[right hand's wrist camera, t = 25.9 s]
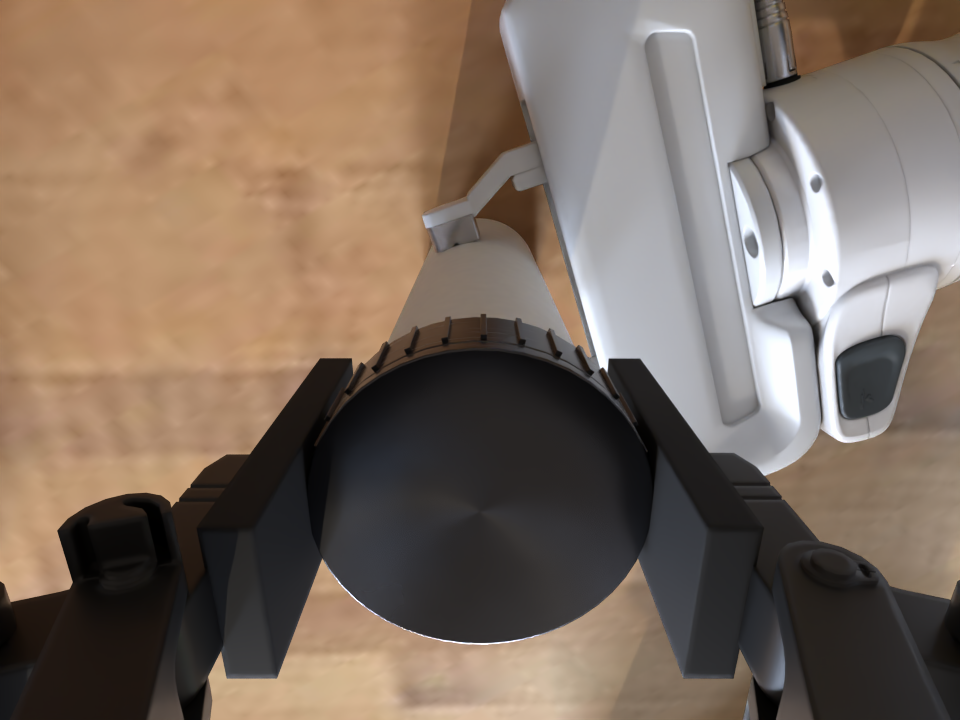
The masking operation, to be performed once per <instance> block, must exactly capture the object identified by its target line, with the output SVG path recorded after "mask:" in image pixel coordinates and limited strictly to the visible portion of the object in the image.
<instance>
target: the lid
mask: <svg viewBox="0 0 960 720" xmlns="http://www.w3.org/2000/svg"><path fill="white" fill-rule="evenodd" d="M324 420H326V423H325V425H324V427H323V429H322V431H321V432H320V434H319V436H318V438H317V440H316V442H315V443H314V445H313V449H312V450H314V453H313V455H312V459H311V463H310V467H309V472H308V476H307V500H308V508H309V517H310V524H311V531H312V536H313V538H314V541H315V543H316V546H317V548H318V551H319V553H320V555H321V557H322V558H323V560H324V562H325V564H326V565H327V567H328V569H329V570H330V572H331V573H332V574H333V575H334V577H335V578H336V579H337V581H338V582H339V583H340V585H341V586H342V587H343V588H344V589H345V590H346V591H347V592H348V593H349V594H350V595H351V596H352V597H353V598H354V599H356V600H357V601H358V602H359V603H361V604H362V605H363V606H364V607H366V608H367V609H368V610H370V611H371V612H373V613H374V614H376V615H378V616H379V617H381V618H382V619H384V620H386V621H387V622H390V623H392V624H394V625H396V626H398V627H400V628H402V629H405V630H407V631H410V632H413V633H416V634H419V635H422V636H425V637H429V638H433V639H438V640H442V641H448V642H456V643H464V644H494V643H506V642H512V641H517V640H523V639H528V638H531V637H535V636H538V635H542V634H545V633H548V632H550V631H552V630H555V629H557V628H560V627H562V626H565V625H566V624H568V623H570V622H572V621H574V620H576V619H578V618H580V617H581V616H583V615H584V614H586V613H587V612H589V611H590V610H592V609H593V608H594V607H596V606H597V605H599V604H600V603H601V602H602V601H603V600H604V599H605V598H606V597H608V596H609V595H610V594H611V593H612V592H613V591H614V590H615V589H616V588H617V586H618V585H619V584H620V583H621V582H622V581H623V580H624V578H625V577H626V576H627V574H628V573H629V571H630V570H631V568H632V567H633V565H634V564H635V562H636V561H637V559H638V557H639V554H640V552H641V550H642V548H643V546H644V544H645V541H646V538H647V535H648V532H649V527H650V519H651V511H652V503H653V493H654V485H653V478H652V472H651V466H650V463H649V460H648V456H649V452H648V450H647V448H646V446H645V444H644V443H643V441H642V439H641V437H640V435H639V433H638V431H637V430H636V428H635V427H636V426H638V423H637V421H636V419H635V417H634V415H633V414H632V412H631V410H630V408H629V406H628V405H627V403H626V401H625V399H624V397H623V396H622V394H621V393H618V391H617V390H616V388H615V386H614V384H613V382H612V380H611V379H610V377H609V375H608V373H607V371H606V370H605V369H604V367H602V368H601V369H599V368H598V367H597V366H596V365H595V364H594V363H593V362H592V361H591V359H590V358H588V357H587V356H586V354H585V352H584V350H583V348H582V347H581V346H580V345H578V346H577V347H575V346H573V345H572V344H570V343H568V342H567V341H565V340H563V339H562V338H560V337H559V336H557V335H556V334H555V331H554V330H552V329H550V328H549V329H548V331H546V330H543V329H541V328H539V327H536V326H532V325H529V324H526V323H522V320H521V319H520V318H516V319H515V321H514V320H507V319H501V318H489V317H486V314H481V316H480V317H470V318H459V319H451V316H449V317H445V321H442V322H438V323H433V324H430V325H428V326H425V327H422V328H419V329H418V327H417V326H414V327H412V329H411V332H410V333H408V334H406V335H404V336H402V337H400V338H398V339H396V340H394V341H393V342H391V343H390V344H388V342H387V341H386V342H385V343H383V344H382V346H381V348H380V350H379V352H377V353H376V354H375V355H374V356H373V357H372V358H371V359H370V360H369V361H368V362H367V363H366V364H365V365H364V364H363V363H362V362H361V363H360V364H359V365H358V367H357V369H356V370H355V372H354V374H353V376H352V378H351V380H350V382H349V383H348V385H347V387H346V389H345V388H343V387H342V388H341V390H340V392H339V394H338V396H337V397H336V399H335V401H334V403H333V404H332V406H331V408H330V410H329V412H328V413H327V415H326V417H325V419H324Z"/></svg>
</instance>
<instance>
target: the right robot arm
mask: <svg viewBox="0 0 960 720" xmlns="http://www.w3.org/2000/svg"><path fill="white" fill-rule="evenodd" d="M607 373H608V375H609V377H610V379H611V380H612V382H613V384H614V386H615V388H616V390H617V391H618V393H621V394H622V396H623V397H624V399H625V401H626V403H627V405H628V406H629V408H630V410H631V412H632V414H633V415H634V417H635V419H636V421H637V423H638V426H636V427H635V428H636V430H637V431H638V433H639V435H640V437H641V439H642V441H643V443H644V444H645V446H646V448H647V450H648V452H649V456H648V460H649V463H650V466H651V472H652V478H653V485H654V493H653V503H652V511H651V519H650V527H649V532H648V535H647V538H646V541H645V544H644V546H643V548H642V550H641V552H640V554H639V557H638V559H639V562H640V565H641V567H642V570H643V573H644V575H645V578H646V581H647V583H648V586H649V588H650V591H651V594H652V596H653V599H654V602H655V604H656V607H657V610H658V612H659V615H660V618H661V620H662V623H663V626H664V628H665V631H666V634H667V636H668V639H669V641H670V644H671V647H672V649H673V652H674V655H675V657H676V660H677V663H678V665H679V668H680V671H681V673H682V676H683V678H710V679H734V674H735V669H736V664H737V659H738V654H739V649H740V650H741V652H742V654H743V656H744V658H745V660H746V662H747V664H748V666H749V668H750V670H751V672H752V674H753V675H752V679H751V684H750V689H749V693H748V698H747V702H746V707H745V711H744V716H743V720H960V580H959V581H957V584H956V587H955V590H954V592H953V595H952V598H951V600H949V599H944V598H939V597H935V596H930V595H925V594H920V593H915V592H911V591H906V590H901V589H897V588H894V587H890V586H889V584H888V582H887V581H886V579H885V578H884V577H883V575H882V574H881V573H880V572H879V570H878V569H877V568H876V567H874V566H873V565H872V564H870V563H869V562H868V561H866V560H865V559H864V558H862V557H861V556H859V555H857V554H855V553H853V552H850V551H848V550H846V549H844V548H842V547H839V546H835V545H831V544H828V543H824V542H820V541H819V540H818V539H817V538H816V536H815V535H814V534H813V533H812V532H811V531H810V529H809V528H808V527H807V526H806V525H805V523H804V522H803V521H802V520H801V519H800V518H799V516H798V515H797V514H796V513H795V512H794V510H793V509H792V508H791V507H790V506H789V505H788V503H787V502H786V501H785V500H782V496H781V495H780V494H779V493H778V492H777V490H776V489H775V488H774V487H773V486H770V482H769V481H768V480H767V479H766V477H765V476H764V475H763V474H762V473H761V471H760V470H759V469H758V468H757V467H756V466H755V465H753V464H751V463H750V462H748V461H747V460H745V459H743V458H742V457H740V456H739V455H737V454H735V453H709V452H708V450H707V449H706V448H705V446H704V445H703V444H702V442H701V441H700V439H699V438H698V437H697V435H696V434H695V433H694V431H693V430H692V429H691V427H690V426H689V424H688V423H687V422H686V420H685V419H684V418H683V416H682V415H681V414H680V412H679V411H678V409H677V408H676V407H675V405H674V404H673V403H672V401H671V400H670V398H669V397H668V396H667V394H666V393H665V392H664V390H663V389H662V388H661V386H660V385H659V383H658V382H657V381H656V379H655V378H654V377H653V375H652V374H651V373H650V371H649V370H648V368H647V367H646V366H645V364H644V363H643V362H642V360H641V359H640V358H609V359H608V372H607ZM352 376H353V367H352V358H320V359H319V361H318V362H317V363H316V365H315V366H314V368H313V369H312V370H311V372H310V373H309V374H308V376H307V377H306V379H305V380H304V381H303V383H302V384H301V385H300V387H299V388H298V389H297V391H296V392H295V394H294V395H293V396H292V398H291V399H290V400H289V402H288V403H287V404H286V406H285V407H284V409H283V410H282V411H281V413H280V414H279V415H278V417H277V418H276V419H275V421H274V422H273V424H272V425H271V426H270V428H269V429H268V430H267V432H266V433H265V435H264V436H263V437H262V439H261V440H260V441H259V443H258V444H257V445H256V447H255V448H254V450H253V451H252V452H251V454H250V455H225V456H224V457H222V458H220V459H219V460H217V461H216V462H214V463H212V464H211V465H209V466H208V467H206V468H204V470H203V471H202V472H201V473H200V474H199V475H198V477H197V478H196V479H195V480H194V481H193V483H192V484H191V487H190V488H188V489H187V490H186V491H185V492H184V493H183V495H182V496H181V497H180V498H179V502H176V503H175V504H174V505H173V506H172V508H171V505H170V502H169V501H168V500H166V499H165V498H164V497H162V496H161V495H155V494H150V493H135V494H125V495H121V496H117V497H112V498H108V499H105V500H102V501H100V502H97V503H95V504H93V505H90V506H88V507H85V508H84V509H82V510H81V511H79V512H78V513H76V514H74V515H73V516H71V517H70V518H68V519H67V520H66V521H65V523H64V524H63V525H62V526H61V527H60V528H59V529H58V530H57V531H58V535H59V538H60V541H61V545H62V548H63V551H64V554H65V558H66V561H67V564H68V568H69V571H70V574H71V578H72V581H73V583H72V586H71V588H70V589H69V590H65V591H62V592H57V593H52V594H48V595H43V596H38V597H33V598H29V599H24V600H19V601H14V602H10V599H9V597H8V594H7V591H6V588H5V585H4V584H3V583H2V582H0V720H210V716H211V707H212V696H211V689H210V684H209V679H208V675H209V673H210V671H211V669H212V667H213V666H214V664H215V662H216V660H217V658H218V656H219V654H220V652H222V657H223V662H224V667H225V672H226V677H227V678H277V677H278V674H279V672H280V669H281V666H282V664H283V661H284V658H285V656H286V653H287V650H288V648H289V645H290V642H291V640H292V637H293V634H294V632H295V629H296V627H297V624H298V621H299V619H300V616H301V613H302V611H303V608H304V605H305V603H306V600H307V597H308V595H309V592H310V589H311V587H312V584H313V581H314V579H315V576H316V573H317V571H318V568H319V566H320V563H321V560H322V557H321V555H320V553H319V551H318V548H317V546H316V543H315V541H314V538H313V536H312V531H311V524H310V517H309V508H308V500H307V476H308V472H309V467H310V463H311V459H312V455H313V453H314V450H312V449H313V445H314V443H315V442H316V440H317V438H318V436H319V434H320V432H321V431H322V429H323V427H324V425H325V423H326V420H324V419H325V417H326V415H327V413H328V412H329V410H330V408H331V406H332V404H333V403H334V401H335V399H336V397H337V396H338V394H339V392H340V390H341V388H342V387H343V388H345V389H346V387H347V385H348V383H349V382H350V380H351V378H352Z"/></svg>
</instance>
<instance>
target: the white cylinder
mask: <svg viewBox="0 0 960 720" xmlns="http://www.w3.org/2000/svg"><path fill="white" fill-rule="evenodd" d="M476 222H477V225H478V228H479V231H480V239H479V240H476V241H473V242H470V243H466V244H458V243H455V244H454V246H453V247H452V248H450V249H448V250H446V251H443V252H439V253H435V250H434V248H433V245H432V247H431V248H430V251H429V253H428V255H427V257H426V259H425V262H424V264H423V266H422V268H421V270H420V272H419V275H418V277H417V279H416V281H415V283H414V286H413V288H412V290H411V292H410V294H409V297H408V299H407V301H406V303H405V305H404V307H403V310H402V312H401V314H400V316H399V318H398V321H397V323H396V325H395V327H394V329H393V332H392V334H391V336H390V338H389V340H388V344H390V343H391V342H393V341H394V340H396V339H398V338H400V337H402V336H404V335H406V334H408V333H410V332H411V329H412V327H414V326H417V327H418V329H419V328H422V327H425V326H428V325H430V324H433V323H438V322H442V321H445V317H449V316H451V319H459V318H470V317H480V316H481V314H486V317H489V318H501V319H507V320H514V321H515V319H516V318H520V319H521V320H522V323H526V324H529V325H532V326H536V327H539V328H541V329H543V330H546V331H548V329H549V328H550V329H552V330H554V331H555V334H556V335H557V336H559V337H560V338H562V339H563V340H565V341H567V342H568V343H570V344H572V345H573V342H572V340H571V338H570V336H569V334H568V332H567V329H566V327H565V325H564V323H563V321H562V318H561V316H560V314H559V312H558V310H557V307H556V305H555V303H554V301H553V299H552V297H551V294H550V292H549V290H548V288H547V286H546V283H545V281H544V279H543V277H542V275H541V272H540V270H539V268H538V266H537V264H536V262H535V259H534V257H533V255H532V253H531V251H530V249H529V247H528V245H527V243H526V242H525V241H524V239H523V238H522V237H521V236H520V235H519V234H518V233H517V232H516V231H515V230H513V229H512V228H510V227H509V226H507V225H505V224H503V223H501V222H498V221H495V220H491V219H482V218H477V219H476ZM573 346H574V345H573Z"/></svg>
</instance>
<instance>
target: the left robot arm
mask: <svg viewBox="0 0 960 720" xmlns="http://www.w3.org/2000/svg"><path fill="white" fill-rule="evenodd" d="M785 9H786V6H785V2H783V0H506V2H505V4H504V6H503V9H502V11H501V15H500V23H499V28H500V34H501V37H502V41H503V45H504V48H505V52H506V55H507V59H508V63H509V66H510V70H511V73H512V77H513V80H514V84H515V87H516V91H517V94H518V98H519V101H520V105H521V109H522V112H523V116H524V119H525V123H526V126H527V130H528V133H529V137H530V140H531V142H530V143H527V144H525V145H522V146H519V147H516V148H513V149H511V150H508V151H505V152H502V153H501V154H500V155H499V156H498V158H497V159H496V160H495V161H494V162H493V163H492V165H491V166H490V167H489V168H488V169H487V171H486V172H485V173H484V174H483V175H482V176H481V178H480V179H479V180H478V181H477V182H476V183H475V185H474V186H473V187H472V188H471V189H470V190H469V192H468V193H467V197H464V198H461V199H458V200H455V201H452V202H449V203H446V204H443V205H441V206H438V207H435V208H432V209H430V210H428V211H426V212H424V213H423V214H422V218H423V221H424V224H425V227H426V229H427V232H428V234H429V237H430V240H431V242H432V245H433V248H434V250H435V253H439V252H443V251H446V250H448V249H450V248H452V247H453V246H454V244H455V243H458V244H466V243H470V242H473V241H476V240H479V239H480V231H479V228H478V225H477V222H476V218H475V216H476V215H477V214H478V213H479V212H480V211H481V209H482V208H483V207H484V206H485V205H486V204H487V203H488V201H489V200H490V199H491V198H492V197H493V196H494V195H495V193H496V192H497V191H498V190H499V189H500V188H501V187H502V186H503V184H504V183H505V182H506V181H507V180H508V179H509V178H510V179H511V182H512V185H513V187H514V188H515V189H516V190H517V191H519V192H520V191H523V190H526V189H529V188H532V187H535V186H538V185H541V184H543V186H544V190H545V193H546V197H547V201H548V204H549V208H550V211H551V215H552V218H553V222H554V225H555V229H556V232H557V236H558V239H559V243H560V247H561V250H562V254H563V257H564V261H565V264H566V268H567V271H568V275H569V278H570V282H571V285H572V289H573V293H574V296H575V300H576V303H577V307H578V310H579V314H580V317H581V321H582V324H583V328H584V331H585V335H586V339H587V342H588V346H589V349H590V353H591V356H592V357H590V359H591V361H592V362H593V363H594V364H595V365H596V366H597V367H598V368H599V369H601V368H602V367H604V369H605V370H606V371H607V372H608V359H609V358H640V359H641V360H642V362H643V363H644V364H645V366H646V367H647V368H648V370H649V371H650V373H651V374H652V375H653V377H654V378H655V379H656V381H657V382H658V383H659V385H660V386H661V388H662V389H663V390H664V392H665V393H666V394H667V396H668V397H669V398H670V400H671V401H672V403H673V404H674V405H675V407H676V408H677V409H678V411H679V412H680V414H681V415H682V416H683V418H684V419H685V420H686V422H687V423H688V424H689V426H690V427H691V429H692V430H693V431H694V433H695V434H696V435H697V437H698V438H699V439H700V441H701V442H702V444H703V445H704V446H705V448H706V449H707V450H708V452H709V453H735V454H737V455H739V456H740V457H742V458H743V459H745V460H747V461H748V462H750V463H751V464H753V465H755V466H756V467H757V468H758V469H759V470H760V471H761V473H762V474H763V475H764V476H765V475H768V474H771V473H773V472H776V471H778V470H780V469H782V468H784V467H786V466H788V465H790V464H792V463H793V462H795V461H796V460H798V459H799V458H800V457H802V456H803V455H804V454H805V453H806V452H807V451H808V450H809V449H810V447H811V446H812V445H813V443H814V442H815V440H816V438H817V436H818V433H819V429H821V430H823V431H824V432H826V433H827V434H829V435H830V436H832V437H833V438H835V439H837V440H838V441H841V442H845V443H851V442H858V441H862V440H866V439H870V438H872V437H875V436H877V435H879V434H881V433H882V432H884V431H885V430H886V429H887V428H888V426H889V425H890V423H891V421H892V419H893V417H894V414H895V410H896V407H897V403H898V399H899V395H900V391H901V388H902V384H903V380H904V377H905V373H906V370H907V366H908V363H909V360H910V356H911V354H912V351H913V348H914V345H915V342H916V339H917V336H918V334H919V331H920V328H921V326H922V323H923V321H924V318H925V316H926V314H927V312H928V310H929V307H930V305H931V303H932V301H933V298H934V295H935V292H936V290H938V289H941V288H944V287H946V286H948V285H950V284H952V283H955V282H957V281H960V32H959V33H958V34H955V35H953V36H951V37H948V38H945V39H942V40H937V41H919V42H906V43H899V44H895V45H891V46H887V47H883V48H880V49H877V50H875V51H872V52H869V53H866V54H863V55H861V56H858V57H855V58H852V59H849V60H846V61H843V62H840V63H837V64H835V65H832V66H829V67H826V68H823V69H820V70H817V71H814V72H811V73H808V74H805V75H802V76H800V75H798V76H797V68H796V60H795V53H794V46H793V38H792V31H791V26H790V21H789V19H788V13H787V11H785ZM763 86H764V89H762V87H763Z"/></svg>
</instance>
